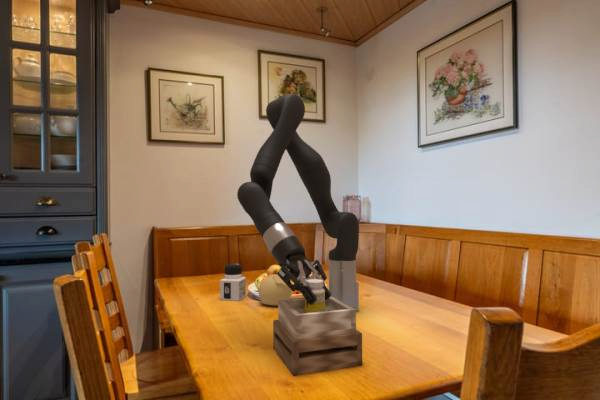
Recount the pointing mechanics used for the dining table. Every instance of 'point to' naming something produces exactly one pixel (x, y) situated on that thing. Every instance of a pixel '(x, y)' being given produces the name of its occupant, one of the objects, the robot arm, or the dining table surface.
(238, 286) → the container
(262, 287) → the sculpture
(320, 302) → the supplement bottle
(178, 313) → the dining table surface
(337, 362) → the crate stack
